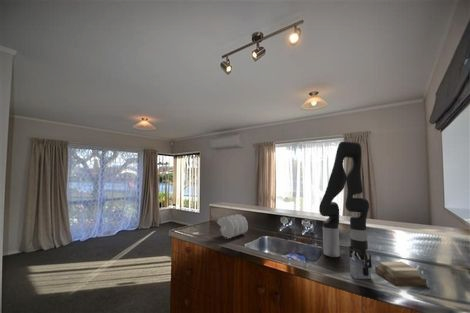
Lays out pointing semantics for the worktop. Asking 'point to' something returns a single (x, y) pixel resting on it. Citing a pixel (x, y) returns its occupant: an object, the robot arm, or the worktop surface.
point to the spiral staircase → (233, 225)
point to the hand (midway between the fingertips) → (360, 271)
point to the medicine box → (358, 269)
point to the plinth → (401, 280)
